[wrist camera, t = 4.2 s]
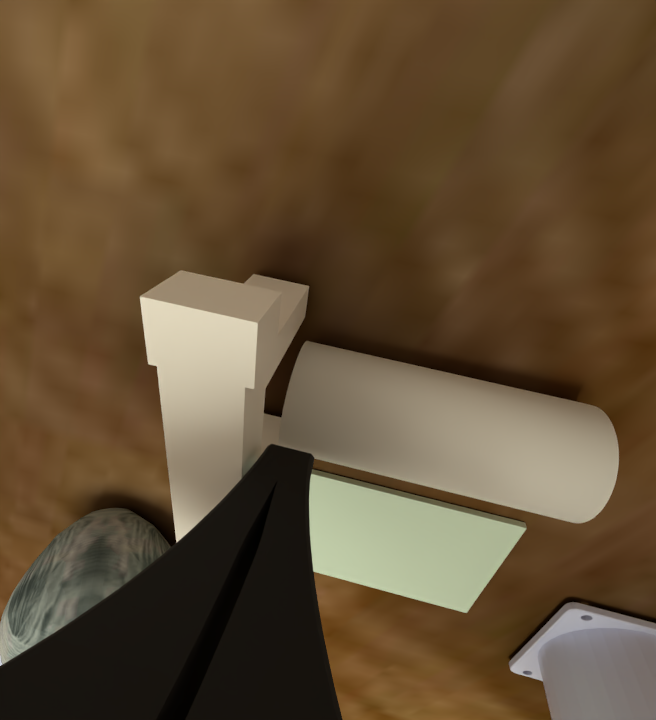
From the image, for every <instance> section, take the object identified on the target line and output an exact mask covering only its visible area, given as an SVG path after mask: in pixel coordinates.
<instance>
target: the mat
mask: <svg viewBox="0 0 656 720" xmlns="http://www.w3.org/2000/svg"><path fill="white" fill-rule="evenodd" d="M309 520H310V541H311V553H312V563H313V571H314V572H317V573H321V574H325V575H328V576H332V577H336V578H339V579H343V580H347V581H350V582H354V583H358V584H361V585H365V586H369V587H372V588H376V589H380V590H383V591H387V592H391V593H394V594H398V595H402V596H405V597H409V598H413V599H416V600H420V601H424V602H427V603H431V604H435V605H438V606H442V607H446V608H449V609H453V610H457V611H461V612H464V613H467V612H468V610H469V609H470V607H471V606H472V605H473V603H474V602H475V600H476V599H477V598H478V596H479V595H480V593H481V592H482V591H483V589H484V588H485V586H486V585H487V584H488V582H489V581H490V579H491V578H492V576H493V575H494V574H495V572H496V571H497V569H498V568H499V567H500V565H501V564H502V562H503V561H504V560H505V558H506V557H507V555H508V554H509V553H510V551H511V550H512V548H513V547H514V546H515V544H516V543H517V541H518V540H519V539H520V537H521V536H522V534H523V533H524V532H525V530H526V529H527V527H526V524H525V522H521V521H517V520H513V519H509V518H505V517H501V516H497V515H493V514H489V513H485V512H481V511H477V510H473V509H469V508H465V507H461V506H457V505H453V504H449V503H445V502H441V501H437V500H433V499H429V498H425V497H421V496H417V495H413V494H409V493H405V492H402V491H398V490H394V489H390V488H386V487H382V486H378V485H374V484H370V483H366V482H362V481H358V480H354V479H350V478H346V477H342V476H338V475H334V474H330V473H326V472H322V471H318V470H314V469H312V473H311V478H310V491H309Z"/></svg>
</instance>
